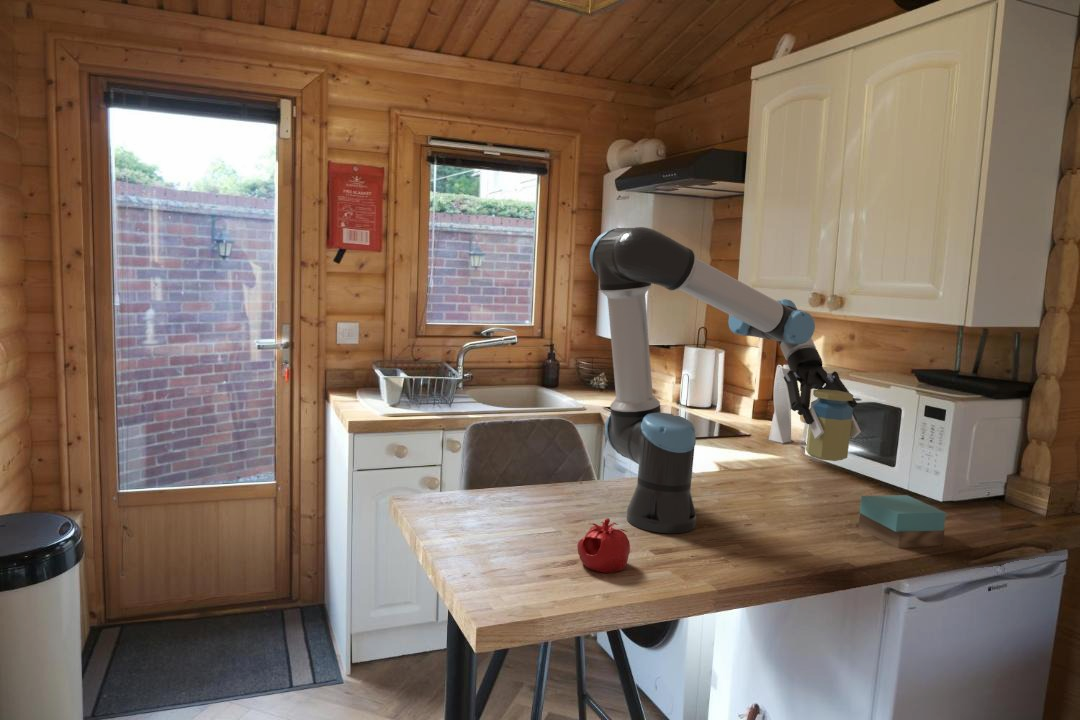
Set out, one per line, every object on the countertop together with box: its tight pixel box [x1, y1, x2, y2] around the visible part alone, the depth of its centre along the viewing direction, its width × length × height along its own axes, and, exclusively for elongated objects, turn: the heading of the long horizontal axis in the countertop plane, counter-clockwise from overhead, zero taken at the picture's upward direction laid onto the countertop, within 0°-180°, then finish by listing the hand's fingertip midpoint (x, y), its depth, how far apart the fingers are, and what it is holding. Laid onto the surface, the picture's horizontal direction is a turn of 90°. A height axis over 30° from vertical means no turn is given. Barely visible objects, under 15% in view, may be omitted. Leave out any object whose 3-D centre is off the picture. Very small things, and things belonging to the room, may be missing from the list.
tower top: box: [859, 494, 947, 532], centre depth 166 cm, size 12×12×4 cm
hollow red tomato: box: [577, 517, 631, 574], centre depth 140 cm, size 10×10×9 cm
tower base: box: [858, 513, 945, 549], centre depth 167 cm, size 12×12×4 cm
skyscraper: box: [764, 364, 794, 445], centre depth 255 cm, size 8×8×28 cm
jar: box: [805, 389, 854, 462], centre depth 171 cm, size 9×9×15 cm
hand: (838, 435), depth 169 cm, fingers closed on jar, 9 cm apart
